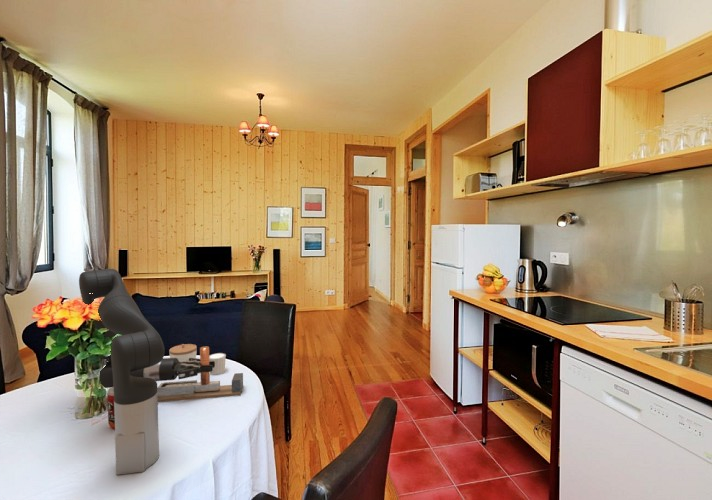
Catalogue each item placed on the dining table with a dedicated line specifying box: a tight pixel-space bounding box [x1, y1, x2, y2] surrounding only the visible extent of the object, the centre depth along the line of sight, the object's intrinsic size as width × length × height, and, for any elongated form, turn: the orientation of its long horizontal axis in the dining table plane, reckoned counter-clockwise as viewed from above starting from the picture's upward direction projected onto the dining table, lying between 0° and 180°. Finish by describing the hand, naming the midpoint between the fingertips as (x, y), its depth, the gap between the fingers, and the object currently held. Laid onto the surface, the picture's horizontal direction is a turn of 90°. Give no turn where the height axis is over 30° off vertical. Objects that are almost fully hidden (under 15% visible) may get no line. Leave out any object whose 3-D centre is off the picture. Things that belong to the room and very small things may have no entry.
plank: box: [158, 384, 244, 403], centre depth 122 cm, size 7×28×1 cm, turn 101°
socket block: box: [231, 372, 244, 393], centre depth 124 cm, size 6×3×4 cm, turn 11°
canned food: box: [106, 387, 115, 430], centre depth 104 cm, size 8×8×11 cm
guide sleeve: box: [157, 379, 198, 398], centre depth 120 cm, size 5×12×3 cm, turn 101°
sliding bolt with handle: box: [165, 346, 221, 392], centre depth 121 cm, size 3×18×16 cm, turn 101°
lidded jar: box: [168, 343, 197, 362], centre depth 147 cm, size 11×11×9 cm
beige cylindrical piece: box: [209, 352, 227, 376], centre depth 141 cm, size 7×7×7 cm
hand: (213, 366), depth 122 cm, fingers closed on sliding bolt with handle, 3 cm apart
